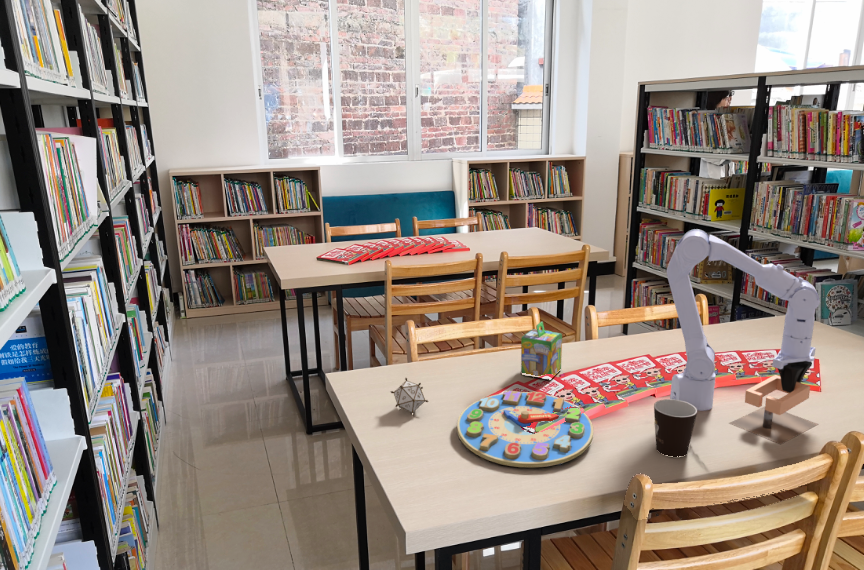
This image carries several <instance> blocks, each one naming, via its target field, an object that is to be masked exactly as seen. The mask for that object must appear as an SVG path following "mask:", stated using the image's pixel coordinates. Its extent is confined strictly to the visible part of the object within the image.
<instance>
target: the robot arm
mask: <svg viewBox="0 0 864 570" xmlns="http://www.w3.org/2000/svg"><path fill="white" fill-rule="evenodd" d="M676 243H677V244H676V246H675V248H674V251H673V253H672V256H671V257H670V260H669V262H668V265H667V267H666V271H665V272H666V277H667V280H668V283H669V288H670V291H671V295H672V296H671V297H672V298H673V303H674V306H675V309H676V313H677V317H678V321H679V324H680V328H681V332H682V335H683V339H684V347H685V353H686V358H687V359H686V363H685V368H684V369H683V372H681V373H678V374H673V376H672V378H671V386H670V394H669V395H670V397H669V399H674V400H680V401H684V402H687V403H690V404H691V405H693V406H694V407H695V408H696V409H697V411H701V412H702V411H709V410H711V409H713V405H714V397H715V396H714V393H715V385H716V373H715V369H716V367H715V359H716V353H715V351H714V348H713V347H712V346H711V345H710V344H709V342H708V339H707V338H708V337H706V334H705V331H704V327H703V324H702V320H701V317H700V312H699V308H698V305H697V302H696V297H695V294H694V290H693V286H692V282H691V279H690V275H689V274H690V273H691V271H692V270H693V269H694V268H695V266H696V265H698V264H700V263H701V262H703V261H704V260H705V259H706V258H707V257H708V262H714V261H723V262H725V263H727V264H730V265H731V266H733V267H735V268H737V269H738V270H740V271H742V272H744V273H746V274H747V275H748V274H749V275H750V276H752V277H753V278H754V282H755V285H756V286H758V287H760V288H761V289H763V290H765V291H766V292H768V293H770V294H772V295H774V296H775V297H777V298H779V299H780V300H785V301H788V302H787V310H786V313H785V318H784V324H783V332H782V338H781V348H780V350H779V352H778V353H777V355H776V356H775V357H774V358H772V365H771V366H772V367H773V368H775V369H777V371H778V374H779V376H780V378H781V384H782V390H783V391H786V392H789V393H790V392H792V391H794V389H795V385H796V382H799V383H802V380H803V378H804V377H805V375H806V373H808V372H807V371H808V370H809V369H810V368H811V367H812V366H813V363H812V362H815V354H816V347H815V346H814V347H813V346H812V342H813V341H812V339H813V332H814V325H815V319H816V317H815V314H816V309H818V307H819V306H820V304H821V300H820V296H819V293H818V292H817V290H816V288H815V286H814V285H813V284H812V283H810V282H809V281H808V280H805V279H804V278H803V277H801V276H798V277H796V276H794V275H793V274H791V273H790V272H787V271H786V270H784V269H785V268H784V266H783V265H781V264H780V263H778V264H777V265H775V264H774V263H768V264H767V263H766V264H762V263H760V262H759V261H757V260H756V259H754V258H752V257H751V256H749V255H747V254H746V253H744V252H743V251H741V250H739V249H738V248H736V247H734V246H733V245H731V244H730V243H728V242H726V241H724V240H723V239H720V237H717V236H715V235H713V234H708V233H707V232H706V231H704V230H702V229H698V228H696V229H695V228H694V229H691V230H688V231H687V232H686V233H685V234H684V235H683V236H682V237H681V238H680V239H679V240H678V242H676Z"/></svg>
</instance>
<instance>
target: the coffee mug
mask: <svg viewBox="0 0 864 570" xmlns="http://www.w3.org/2000/svg"><path fill="white" fill-rule="evenodd" d="M653 408H654V409H653V413H654V432H655V449H656V450H658V451H659V452H660V453H659V452H658V451H657V452H658V453H659V454H661V453H662V454H664V455H663V456H665V455H668V456H673V457H677V456H678V457H679V456H684V455H686V454H687V455H688V452H689V450H690V449H689V448H690V444H691V440H692V435H693V431H694V426H695V423H696V418H697V415H698V414H697V413H698V410H697V409H696V408H695V407H694V406H693V405H691V404H690V403H687V402H684V401H680V400H674V399H670V398H666V399H660V400H656V401H655V402H654V404H653ZM662 454H661V455H662ZM687 455H686V456H687ZM668 456H667V457H668ZM673 457H672V458H673ZM684 457H685V456H684Z"/></svg>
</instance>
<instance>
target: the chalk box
mask: <svg viewBox="0 0 864 570" xmlns="http://www.w3.org/2000/svg"><path fill="white" fill-rule="evenodd" d="M540 328H541V329H540ZM520 338H521V340H520V341H521V342H520V343H521V348H520V349H521V353H520V355H521V357H520V358H521V359H520V360H521V361H520V367H521V369H520V373H521V372H522V373H526V374H531V375H535V376H541V375H545V374H553V375H556V374H557V372H558V371H559V370H560V369H561V370H562V357H563V356H562V353H563V352H562V351H563V333H560V332H554V331H551V330H545V327H544V321H540V322H538V323H537V324H536V329H535V328H533V329H530V330H529V331H528V332H527V333H525V334H524V335H522V336H521V337H520ZM557 375H558V374H557ZM557 375H556V376H557Z"/></svg>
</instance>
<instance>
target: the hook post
mask: <svg viewBox="0 0 864 570" xmlns="http://www.w3.org/2000/svg"><path fill="white" fill-rule="evenodd" d="M772 419H773V413H772V412H769V411H767V410H764V418H763V427H764V428H766V429H771V427H772Z"/></svg>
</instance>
